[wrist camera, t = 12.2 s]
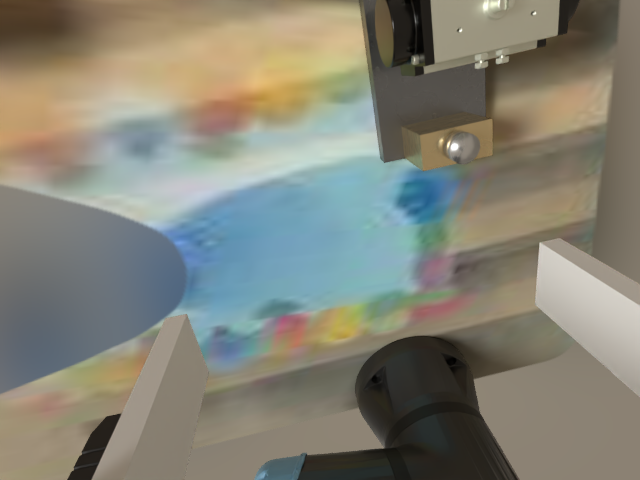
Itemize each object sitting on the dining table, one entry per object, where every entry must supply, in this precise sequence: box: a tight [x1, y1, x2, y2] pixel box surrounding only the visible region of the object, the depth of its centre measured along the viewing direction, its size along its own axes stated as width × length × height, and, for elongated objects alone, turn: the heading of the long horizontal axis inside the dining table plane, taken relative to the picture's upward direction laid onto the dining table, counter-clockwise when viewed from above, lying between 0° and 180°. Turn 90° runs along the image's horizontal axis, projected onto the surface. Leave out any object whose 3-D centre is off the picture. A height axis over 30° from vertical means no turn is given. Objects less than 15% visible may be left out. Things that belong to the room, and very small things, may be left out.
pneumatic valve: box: [375, 0, 579, 76], centre depth 26 cm, size 6×12×12 cm, turn 102°
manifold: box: [359, 0, 493, 171], centre depth 29 cm, size 21×10×8 cm, turn 12°
